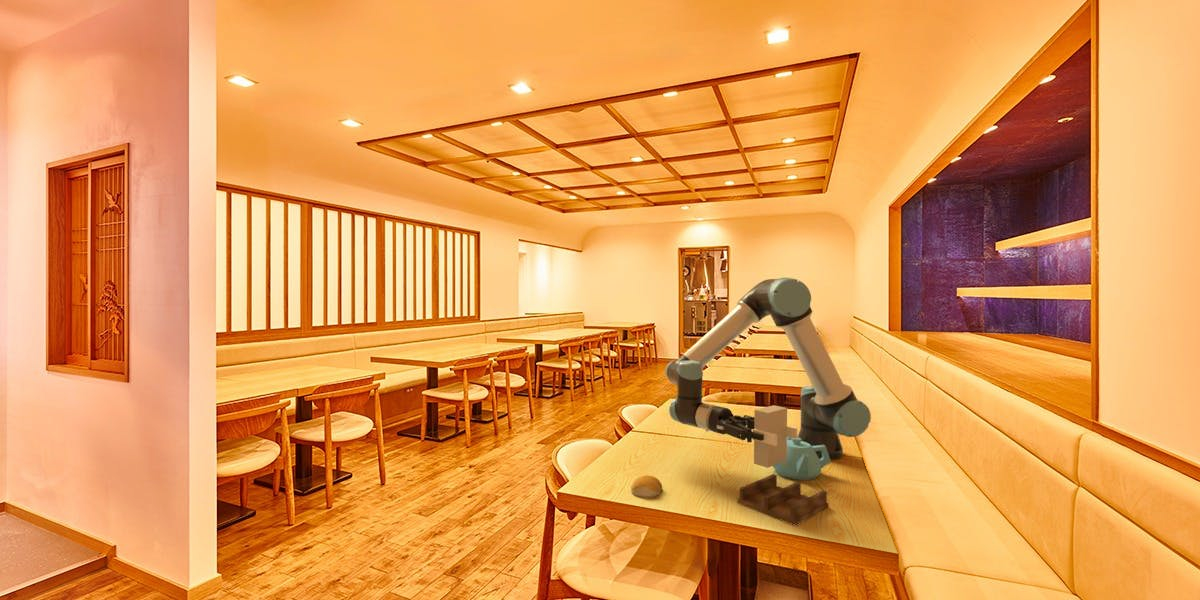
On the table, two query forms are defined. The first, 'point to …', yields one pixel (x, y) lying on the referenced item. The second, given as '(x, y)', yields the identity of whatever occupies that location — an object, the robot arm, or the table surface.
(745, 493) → the walnut rack
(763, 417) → the cardboard box
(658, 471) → the table surface
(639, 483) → the bread roll
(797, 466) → the teapot
